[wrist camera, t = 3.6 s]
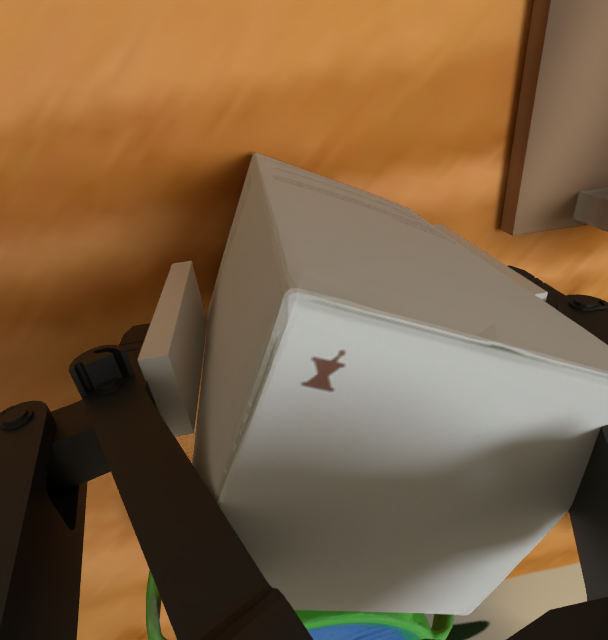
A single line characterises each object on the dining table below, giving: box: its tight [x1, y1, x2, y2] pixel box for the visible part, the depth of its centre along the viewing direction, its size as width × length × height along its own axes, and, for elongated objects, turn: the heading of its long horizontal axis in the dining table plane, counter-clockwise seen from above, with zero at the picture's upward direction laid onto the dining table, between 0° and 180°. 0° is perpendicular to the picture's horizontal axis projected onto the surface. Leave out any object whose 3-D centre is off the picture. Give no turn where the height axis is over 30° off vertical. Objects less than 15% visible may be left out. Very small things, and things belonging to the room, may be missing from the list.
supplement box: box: [192, 153, 608, 615], centre depth 13 cm, size 7×7×13 cm
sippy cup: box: [146, 571, 454, 640], centre depth 22 cm, size 16×10×10 cm
